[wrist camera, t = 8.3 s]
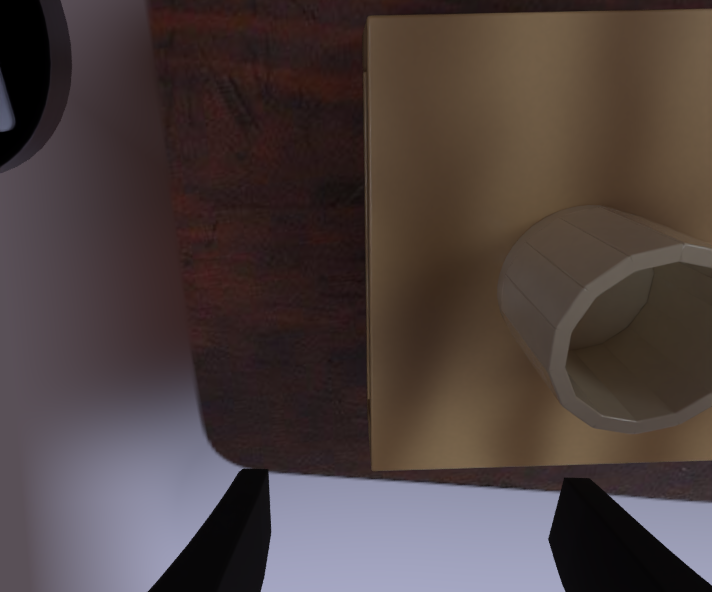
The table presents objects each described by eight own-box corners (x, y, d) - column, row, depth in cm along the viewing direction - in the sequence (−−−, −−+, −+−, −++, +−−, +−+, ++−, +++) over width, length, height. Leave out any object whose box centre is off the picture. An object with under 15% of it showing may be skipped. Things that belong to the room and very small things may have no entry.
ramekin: (489, 354, 17) (536, 438, 13) (505, 205, 15) (568, 246, 10) (635, 350, 17) (729, 432, 13) (671, 200, 15) (799, 240, 11)
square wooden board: (367, 413, 22) (371, 472, 19) (362, 33, 16) (366, 14, 13) (656, 404, 22) (713, 461, 19) (762, 25, 16) (877, 4, 13)
